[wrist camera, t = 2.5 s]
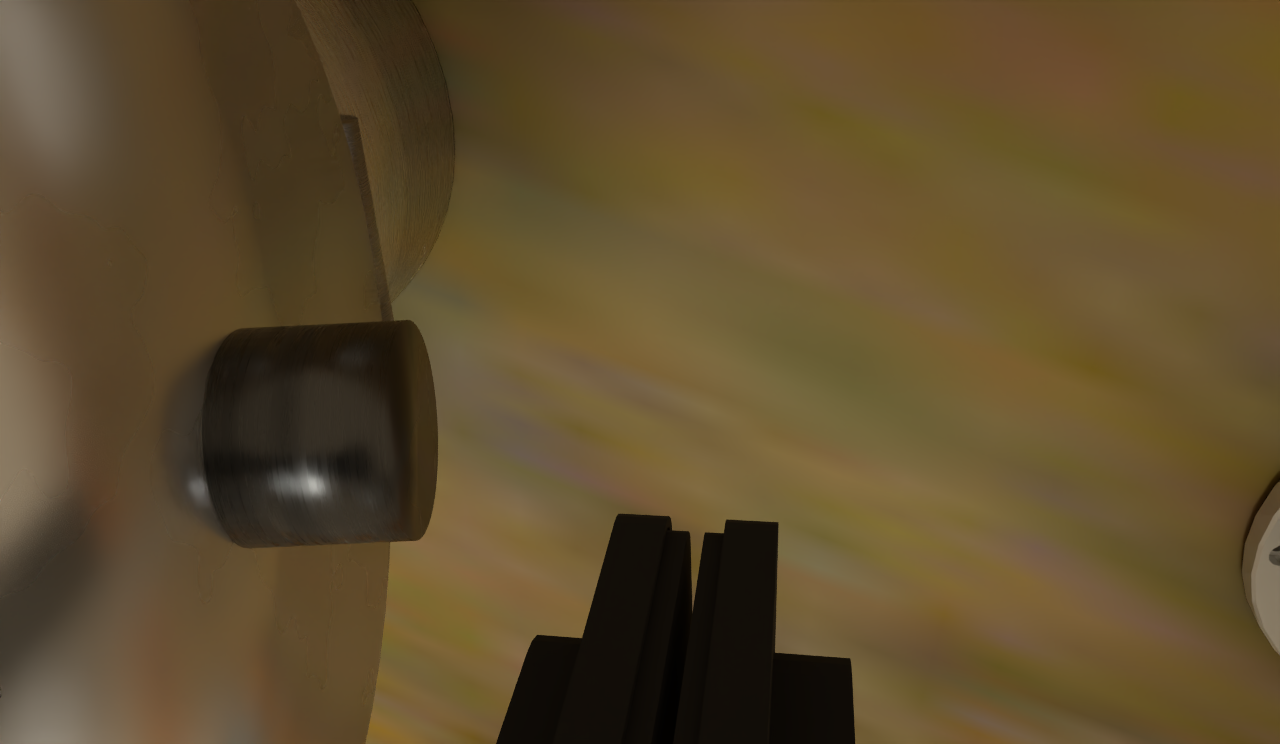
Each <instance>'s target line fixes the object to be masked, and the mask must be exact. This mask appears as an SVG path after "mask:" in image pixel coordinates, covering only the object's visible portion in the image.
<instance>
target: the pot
mask: <svg viewBox="0 0 1280 744" xmlns="http://www.w3.org/2000/svg"><path fill="white" fill-rule="evenodd" d="M295 2H296V4H297V6H298V8H299V10H300V12H301V14H302V16H303V19H304V21H305V24H306V26H307V28H308V31H309V33H310V36H311V38H312V40H313V43H314V45H315V48H316V50H317V52H318V55H319V57H320V60H321V62H322V65H323V68H324V71H325V74H326V77H327V79H328V82H329V85H330V88H331V91H332V94H333V96H334V99H335V102H336V105H337V108H338V112H339V114H345V115H353V116H356V117H357V118H358V123H359V128H360V134H361V139H362V145H363V151H364V156H365V162H366V167H367V173H368V178H369V184H370V190H371V195H372V201H373V206H374V212H375V217H376V223H377V228H378V234H379V240H380V245H381V251H382V256H383V262H384V267H385V273H386V278H387V284H388V290H389V295H390V301H391V303H392V302H393V301H394V300H395V299H396V298H397V297H398V295H399V294H400V293H401V292H402V291H403V290H404V289H405V287H406V286H407V285H408V284H409V283H410V281H411V280H412V279H413V277H414V276H415V275H416V273H417V272H418V271H419V269H420V268H421V267H422V265H423V264H424V263H425V261H426V259H427V257H428V255H429V253H430V252H431V250H432V248H433V246H434V244H435V242H436V240H437V239H438V236H439V233H440V230H441V227H442V224H443V222H444V219H445V216H446V213H447V209H448V204H449V199H450V194H451V189H452V184H453V172H454V155H455V146H454V132H453V118H452V112H451V107H450V102H449V97H448V92H447V87H446V82H445V79H444V76H443V73H442V69H441V66H440V63H439V60H438V57H437V54H436V51H435V48H434V46H433V43H432V41H431V39H430V37H429V35H428V32H427V30H426V28H425V26H424V24H423V21H422V19H421V17H420V15H419V13H418V11H417V9H416V8H415V6H414V4H413V3H412V1H411V0H295Z"/></svg>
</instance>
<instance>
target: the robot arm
mask: <svg viewBox="0 0 1280 744" xmlns="http://www.w3.org/2000/svg"><path fill="white" fill-rule="evenodd" d="M777 558H778V522H760V521H742V520H726V523H725V530H724V533H706V532H705V535H704V540H703V547H702V553H701V560H700V567H699V573H698V580H697V587H696V594H695V600H694V607H693V614H692V581H691V543H690V533H689V531H672V523H671V518H670V517H669V516H652V515H634V514H618V515H617V517H616V520H615V522H614V526H613V530H612V533H611V537H610V540H609V544H608V547H607V551H606V555H605V558H604V562H603V565H602V569H601V573H600V576H599V580H598V583H597V587H596V590H595V594H594V598H593V601H592V605H591V608H590V612H589V616H588V619H587V623H586V626H585V630H584V633H583V637H582V638H571V637H558V636H545V635H537V636H536V637H535V638H534V639H533V640H532V642H531V645H530V647H529V649H528V652H527V654H526V657H525V660H524V663H523V666H522V669H521V672H520V675H519V678H518V681H517V684H516V687H515V690H514V693H513V696H512V698H511V701H510V704H509V707H508V710H507V713H506V716H505V719H504V722H503V725H502V728H501V731H500V734H499V737H498V740H497V743H496V744H855V729H854V708H853V686H852V669H851V661H850V658H837V657H824V656H810V655H797V654H784V653H775V630H776V594H777ZM1242 577H1243V583H1244V589H1245V595H1246V599H1247V602H1248V604H1249V606H1250V608H1251V610H1252V612H1253V614H1254V617H1255V619H1256V621H1257V623H1258V625H1259V627H1260V628H1261V630H1262V631H1263V633H1264V635H1265V636H1266V638H1267V639H1268V641H1269V642H1270V644H1271V645H1272V647H1273V649H1274V650H1275V651H1276V652H1277V653H1278V654H1279V655H1280V481H1279V482H1278V483H1277V484H1276V485H1275V486H1274V488H1273V489H1272V491H1271V492H1270V494H1269V495H1268V497H1267V498H1266V500H1265V502H1264V503H1263V505H1262V506H1261V508H1260V509H1259V511H1258V512H1257V514H1256V516H1255V518H1254V521H1253V524H1252V526H1251V529H1250V532H1249V534H1248V537H1247V540H1246V542H1245V548H1244V556H1243V565H1242Z"/></svg>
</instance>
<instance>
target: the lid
mask: <svg viewBox="0 0 1280 744" xmlns="http://www.w3.org/2000/svg"><path fill="white" fill-rule="evenodd" d="M437 466H438V426H437V410H436V399H435V390H434V383H433V376H432V371H431V365H430V361H429V357H428V353H427V349H426V346H425V343H424V340H423V337H422V335H421V333H420V331H419V329H418V327H417V326H416V325H415V324H414V322H412V321H410V320H400V321H394V317H393V312H392V306H391V301H390V295H389V290H388V284H387V278H386V273H385V267H384V262H383V256H382V251H381V245H380V240H379V234H378V228H377V223H376V217H375V212H374V206H373V201H372V195H371V190H370V184H369V178H368V173H367V167H366V162H365V156H364V151H363V145H362V139H361V134H360V128H359V123H358V118H357V117H356V116H353V115H345V114H339V112H338V108H337V105H336V102H335V99H334V96H333V94H332V91H331V88H330V85H329V82H328V79H327V77H326V74H325V71H324V68H323V65H322V62H321V60H320V57H319V55H318V52H317V50H316V48H315V45H314V43H313V40H312V38H311V36H310V33H309V31H308V28H307V26H306V24H305V21H304V19H303V16H302V14H301V12H300V10H299V8H298V6H297V4H296V2H295V0H0V744H365V742H366V737H367V732H368V727H369V722H370V717H371V712H372V707H373V701H374V694H375V688H376V681H377V675H378V668H379V662H380V654H381V646H382V637H383V628H384V619H385V611H386V598H387V585H388V572H389V556H390V542H397V541H416V540H419V539H420V538H422V537H423V535H424V533H425V532H426V530H427V527H428V525H429V521H430V518H431V514H432V510H433V504H434V499H435V491H436V481H437Z"/></svg>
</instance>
